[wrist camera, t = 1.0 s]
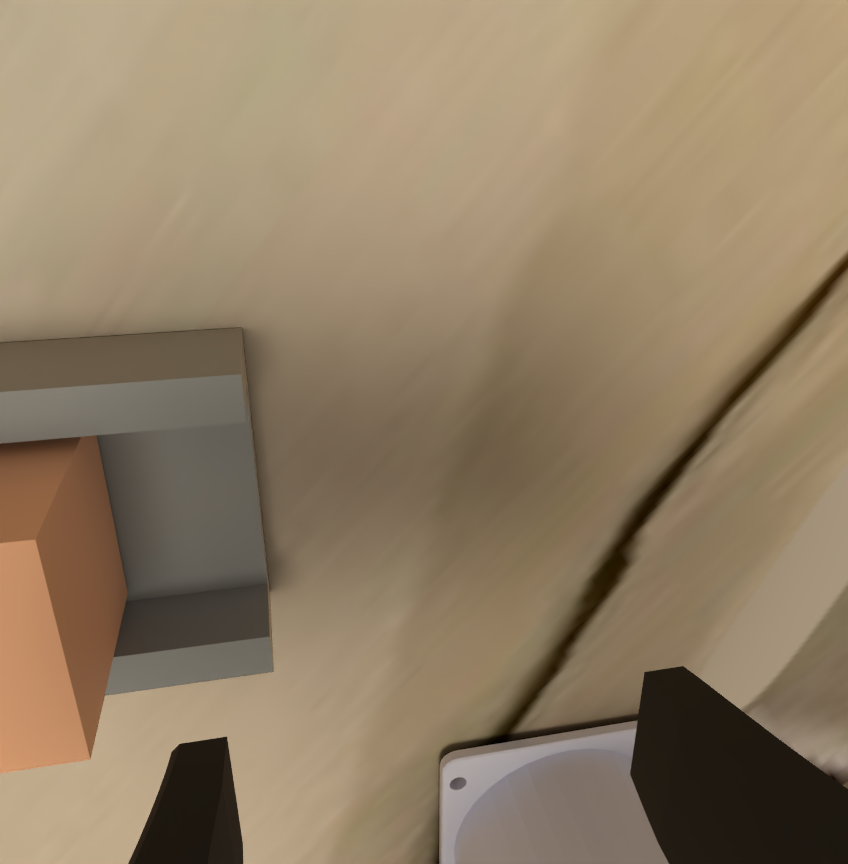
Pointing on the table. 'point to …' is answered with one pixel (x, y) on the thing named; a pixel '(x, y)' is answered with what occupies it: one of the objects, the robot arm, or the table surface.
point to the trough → (163, 490)
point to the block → (55, 600)
